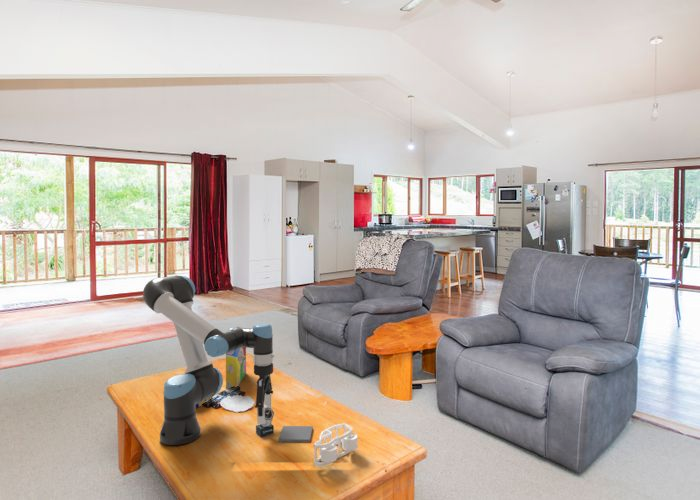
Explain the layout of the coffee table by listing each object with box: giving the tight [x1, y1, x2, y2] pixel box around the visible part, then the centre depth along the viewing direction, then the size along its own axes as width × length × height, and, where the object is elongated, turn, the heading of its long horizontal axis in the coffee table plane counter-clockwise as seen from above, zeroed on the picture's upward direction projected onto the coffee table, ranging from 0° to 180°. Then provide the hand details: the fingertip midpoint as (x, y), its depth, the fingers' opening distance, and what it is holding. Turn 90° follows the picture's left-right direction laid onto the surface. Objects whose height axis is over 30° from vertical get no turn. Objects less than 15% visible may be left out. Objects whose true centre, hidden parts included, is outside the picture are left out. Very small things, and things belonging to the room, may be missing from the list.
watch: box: [255, 405, 275, 438], centre depth 182 cm, size 6×8×11 cm
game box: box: [225, 347, 247, 389], centre depth 241 cm, size 21×6×27 cm, turn 179°
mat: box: [277, 425, 314, 443], centre depth 180 cm, size 12×12×1 cm
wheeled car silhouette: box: [313, 423, 359, 467], centre depth 164 cm, size 20×11×7 cm, turn 139°
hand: (264, 416), depth 182 cm, fingers open, 13 cm apart
